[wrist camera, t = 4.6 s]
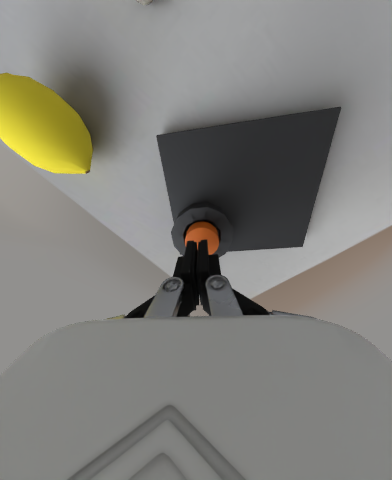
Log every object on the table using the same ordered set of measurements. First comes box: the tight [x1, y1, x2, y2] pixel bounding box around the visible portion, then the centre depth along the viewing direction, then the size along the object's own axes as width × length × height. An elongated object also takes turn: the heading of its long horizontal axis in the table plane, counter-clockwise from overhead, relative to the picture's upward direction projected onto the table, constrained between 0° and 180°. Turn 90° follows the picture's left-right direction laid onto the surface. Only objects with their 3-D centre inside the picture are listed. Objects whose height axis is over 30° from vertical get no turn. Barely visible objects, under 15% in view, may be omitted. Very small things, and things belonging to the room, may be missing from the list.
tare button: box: [185, 221, 219, 255], centre depth 14 cm, size 3×3×2 cm
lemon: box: [0, 73, 93, 174], centre depth 11 cm, size 7×5×5 cm
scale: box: [157, 107, 341, 258], centre depth 14 cm, size 14×12×3 cm
